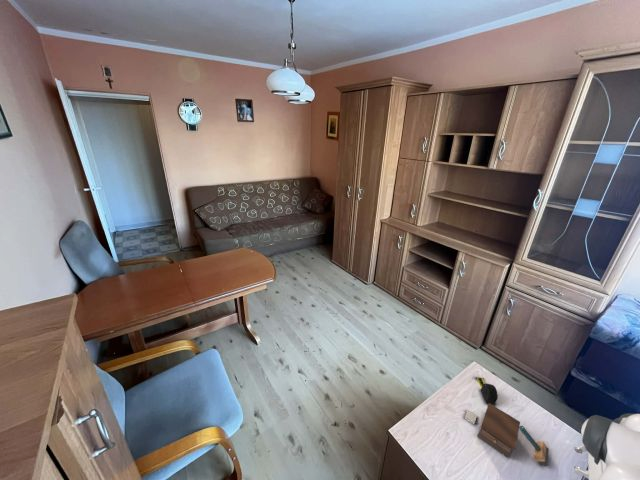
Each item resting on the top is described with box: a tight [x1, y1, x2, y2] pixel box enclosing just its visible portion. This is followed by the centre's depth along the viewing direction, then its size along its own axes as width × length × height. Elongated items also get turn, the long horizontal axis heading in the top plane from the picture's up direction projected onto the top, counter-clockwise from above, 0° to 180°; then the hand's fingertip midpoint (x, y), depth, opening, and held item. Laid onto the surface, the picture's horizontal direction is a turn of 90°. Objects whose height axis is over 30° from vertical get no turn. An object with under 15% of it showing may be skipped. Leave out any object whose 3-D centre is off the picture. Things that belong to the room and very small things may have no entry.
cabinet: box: [476, 403, 521, 458], centre depth 118 cm, size 15×13×8 cm
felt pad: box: [464, 410, 478, 425], centre depth 126 cm, size 4×4×2 cm
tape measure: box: [475, 376, 499, 406], centre depth 137 cm, size 15×4×8 cm, turn 171°
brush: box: [519, 425, 550, 466], centre depth 114 cm, size 8×3×13 cm
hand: (575, 459), depth 104 cm, fingers open, 8 cm apart
